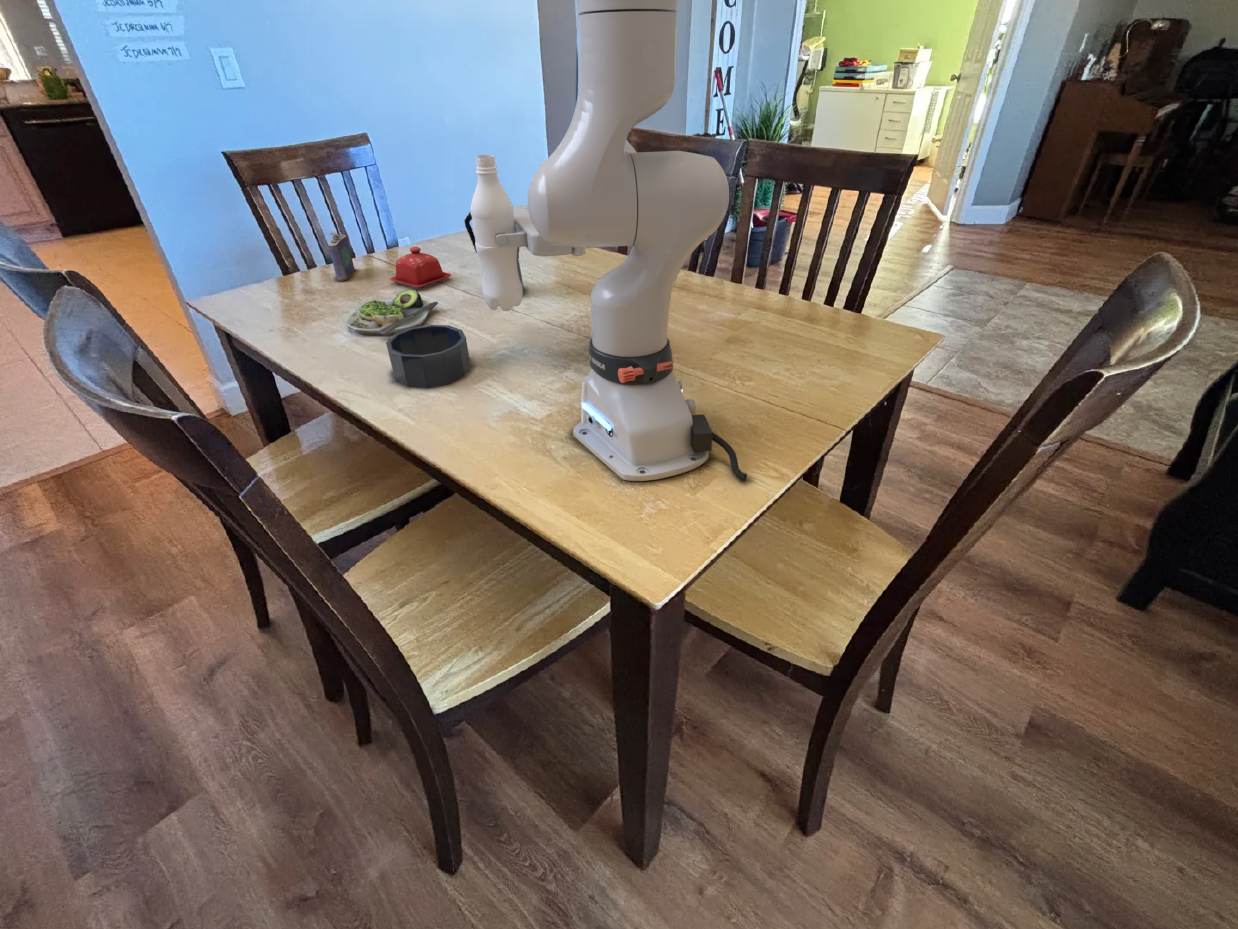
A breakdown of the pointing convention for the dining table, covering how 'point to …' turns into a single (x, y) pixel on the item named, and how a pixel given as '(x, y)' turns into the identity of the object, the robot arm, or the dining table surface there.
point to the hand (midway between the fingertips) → (490, 233)
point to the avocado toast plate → (390, 314)
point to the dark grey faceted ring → (429, 355)
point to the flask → (341, 256)
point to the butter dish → (418, 269)
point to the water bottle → (488, 220)
